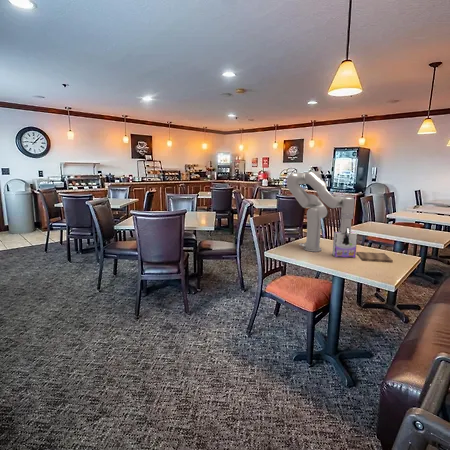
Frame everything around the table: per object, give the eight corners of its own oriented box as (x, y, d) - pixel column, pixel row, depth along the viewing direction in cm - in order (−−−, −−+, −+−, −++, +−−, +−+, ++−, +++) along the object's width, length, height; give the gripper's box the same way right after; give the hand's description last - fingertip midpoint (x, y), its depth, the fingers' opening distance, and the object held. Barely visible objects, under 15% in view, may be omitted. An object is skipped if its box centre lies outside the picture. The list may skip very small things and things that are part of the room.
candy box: (352, 255, 204) (354, 231, 201) (355, 257, 198) (357, 233, 195) (332, 254, 205) (333, 231, 202) (334, 257, 200) (336, 233, 197)
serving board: (362, 260, 192) (362, 258, 192) (356, 253, 208) (356, 251, 208) (392, 262, 189) (392, 260, 189) (384, 255, 205) (384, 253, 204)
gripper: (338, 214, 206) (336, 239, 209) (343, 218, 189) (341, 245, 192) (350, 214, 204) (347, 239, 208) (356, 218, 188) (353, 246, 191)
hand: (344, 242), depth 200 cm, fingers closed on candy box, 6 cm apart
